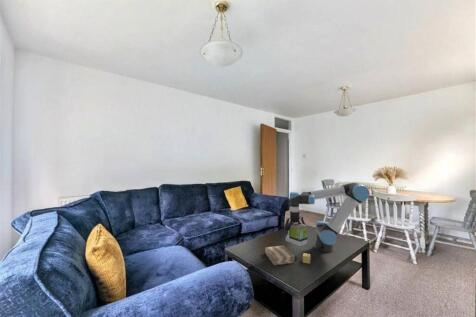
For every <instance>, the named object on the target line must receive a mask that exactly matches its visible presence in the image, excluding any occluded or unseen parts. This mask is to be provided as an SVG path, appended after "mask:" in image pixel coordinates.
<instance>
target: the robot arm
mask: <svg viewBox="0 0 476 317" xmlns="http://www.w3.org/2000/svg"><path fill="white" fill-rule="evenodd" d="M341 196H343V197H345V199H344V200H343V202H342V204H341V205H340V206H339V207H338V209H337V210H336V212H335V213H334V215H333V216H332V217H331V218H330V220H329V221H324V220H323V221H322V220H318V221H316V222H315V241H314V243H313V247H314V249H315V250H316V251H319V252H322V253H331V252H333V251H334V246H333V245H334V244H335V243H337V239H338V238H337V237H338V236H339V234H340V229H341V227H342V226H343V225H344V223H345V222H346V221H347V220H348V218H349V217H350V215H351V213H353V211H354V209H356V207H357V206H358V205H361V204H362V203H363V201H367V200H368V199H369V197H370V190H369V188H368V187H367V186H366V185H365V184H362V183H357V182H350V183H345V184H341V185H340V186H337V187H330V188H325V189H324V188H323V189H318V190H311V191H302V192H301V193H299V192H296V191H292V192H289V217H286V220H285V223H284V226H283V230H286V233H285V235H286V234H287V238H288V239H289V228H290V227H291V225H292V224H293V223H299V224H305V225H306V222H305V221H304V216H300V205H315V201H316V200H322V199H328V198H335V197H341ZM289 222H290V223H289ZM288 223H289V225H288Z"/></svg>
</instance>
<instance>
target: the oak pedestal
mask: <svg viewBox="0 0 476 317" xmlns="http://www.w3.org/2000/svg"><path fill="white" fill-rule="evenodd" d="M264 251H265V252H264V254H265V255H266V256H267V258H268V257H269V258H268V259H269V260H270V261H271V263H272V264H273V265H274V266H278V265H279V266H280V265H287V264H294V263H295V261H296V260H295V258H296V257H295V256H296V255H294V254H293V253H292V252H291V251H290V250H289V249H288V248H287V247H286V246H285V245H277V246H275V245H274V246H266V247H265V250H264Z"/></svg>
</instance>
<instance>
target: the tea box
mask: <svg viewBox="0 0 476 317" xmlns="http://www.w3.org/2000/svg"><path fill="white" fill-rule="evenodd" d="M289 223H290V221H289ZM289 223H288V225H289ZM284 232H285V241H286V242H288V243H291V244H294V245H296V246H299V247H302V246H305V245H306V244H308V225H307V224H306V223H305V224H302V223H301V224H299V223H298V222H297V223H293V224H292V225H291V227H290V228H289V239H288V238H287V234H286V230H285V231H284Z"/></svg>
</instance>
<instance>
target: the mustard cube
mask: <svg viewBox="0 0 476 317" xmlns="http://www.w3.org/2000/svg"><path fill="white" fill-rule="evenodd" d="M302 263H303V264H304V263H305V264H309V265H310V264H311V254H310V253H305V252H303V254H302Z"/></svg>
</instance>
